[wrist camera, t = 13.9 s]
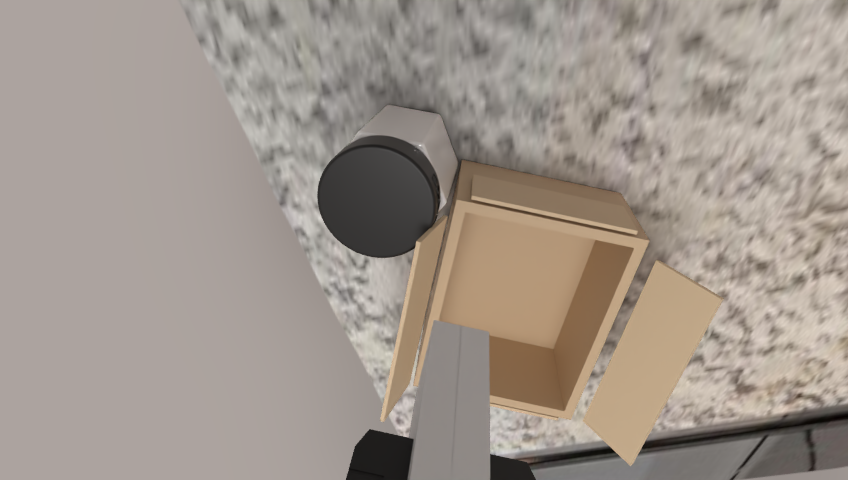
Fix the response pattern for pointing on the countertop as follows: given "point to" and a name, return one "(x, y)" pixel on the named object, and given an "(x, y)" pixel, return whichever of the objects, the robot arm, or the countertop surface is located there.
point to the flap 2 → (650, 358)
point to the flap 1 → (413, 313)
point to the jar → (388, 182)
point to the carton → (534, 281)
